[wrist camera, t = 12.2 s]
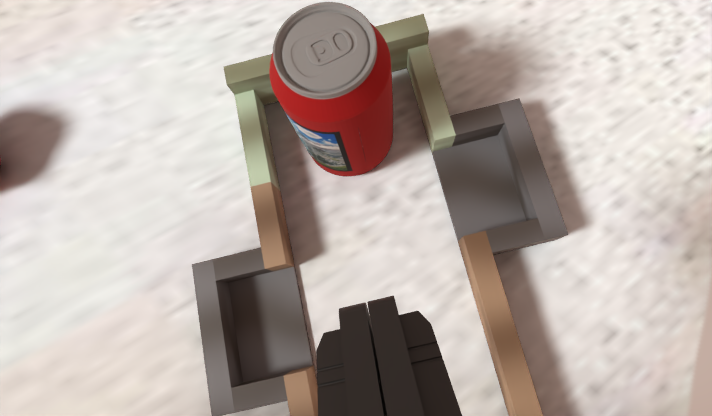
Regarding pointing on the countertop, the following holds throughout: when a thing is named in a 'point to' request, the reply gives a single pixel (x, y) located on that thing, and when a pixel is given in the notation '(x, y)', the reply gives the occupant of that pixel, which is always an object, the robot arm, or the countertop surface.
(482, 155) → the channel
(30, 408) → the countertop surface
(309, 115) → the beverage can
